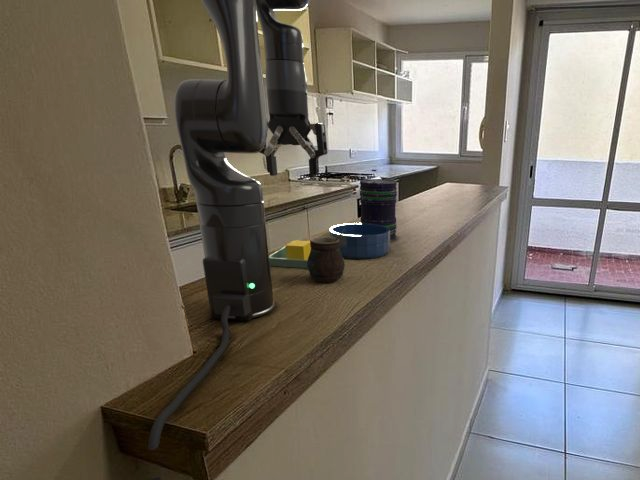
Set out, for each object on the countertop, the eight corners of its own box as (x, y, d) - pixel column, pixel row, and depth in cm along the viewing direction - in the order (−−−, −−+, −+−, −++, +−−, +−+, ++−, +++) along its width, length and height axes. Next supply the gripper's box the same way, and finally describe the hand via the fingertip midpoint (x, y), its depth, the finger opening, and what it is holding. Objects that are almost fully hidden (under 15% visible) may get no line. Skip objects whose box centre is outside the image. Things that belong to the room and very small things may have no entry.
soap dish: (315, 269, 94) (315, 261, 94) (266, 265, 95) (265, 257, 95) (330, 256, 103) (330, 249, 103) (285, 253, 104) (284, 246, 104)
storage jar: (368, 232, 128) (367, 166, 121) (401, 235, 126) (402, 168, 119) (354, 239, 120) (352, 169, 113) (389, 243, 117) (389, 171, 110)
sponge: (304, 262, 97) (303, 246, 95) (286, 260, 97) (285, 245, 96) (312, 256, 101) (311, 241, 100) (295, 255, 102) (294, 239, 100)
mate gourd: (305, 275, 90) (301, 225, 86) (342, 272, 93) (340, 224, 89) (310, 286, 84) (307, 234, 80) (350, 283, 86) (348, 232, 83)
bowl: (383, 261, 101) (383, 237, 99) (322, 257, 102) (321, 233, 100) (394, 246, 114) (394, 225, 112) (340, 243, 115) (339, 221, 113)
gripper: (242, 86, 83) (252, 176, 90) (316, 88, 82) (320, 180, 88) (260, 89, 90) (268, 173, 97) (328, 91, 89) (332, 176, 95)
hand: (293, 176), depth 92 cm, fingers open, 8 cm apart
